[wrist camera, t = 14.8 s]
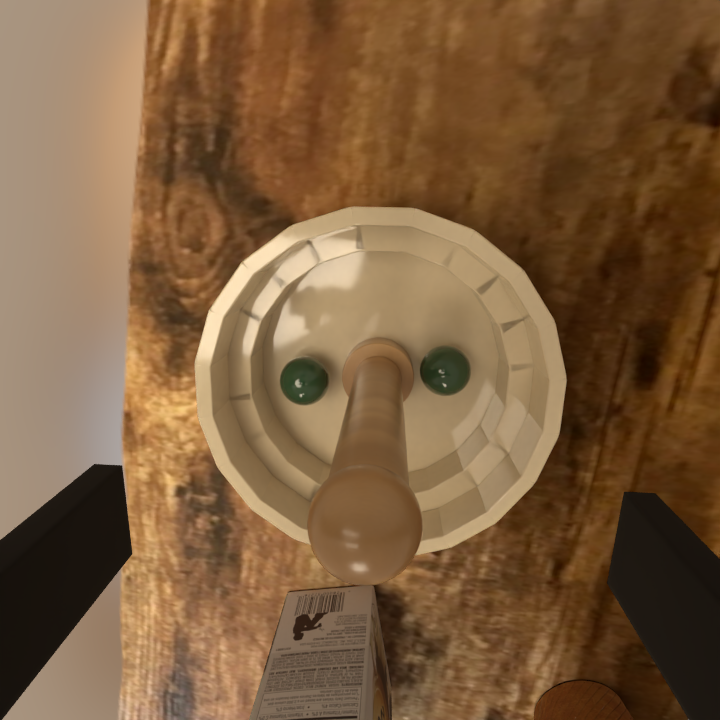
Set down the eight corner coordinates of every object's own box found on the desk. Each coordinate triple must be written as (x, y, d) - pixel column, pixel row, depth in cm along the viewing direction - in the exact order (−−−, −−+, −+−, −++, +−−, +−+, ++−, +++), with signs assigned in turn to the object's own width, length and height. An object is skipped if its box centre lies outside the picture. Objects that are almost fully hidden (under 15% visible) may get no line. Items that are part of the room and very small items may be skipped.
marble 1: (281, 344, 28) (283, 372, 26) (329, 348, 29) (336, 375, 26) (276, 385, 29) (278, 415, 27) (322, 387, 30) (328, 416, 28)
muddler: (345, 335, 28) (280, 482, 12) (414, 338, 28) (448, 491, 12) (343, 401, 29) (283, 621, 13) (410, 404, 29) (437, 631, 13)
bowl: (227, 208, 28) (183, 202, 22) (547, 215, 27) (590, 211, 21) (238, 491, 32) (205, 548, 26) (513, 506, 31) (541, 568, 25)
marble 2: (441, 342, 29) (418, 336, 27) (485, 355, 27) (465, 349, 25) (427, 388, 29) (404, 386, 27) (470, 403, 28) (449, 402, 25)
